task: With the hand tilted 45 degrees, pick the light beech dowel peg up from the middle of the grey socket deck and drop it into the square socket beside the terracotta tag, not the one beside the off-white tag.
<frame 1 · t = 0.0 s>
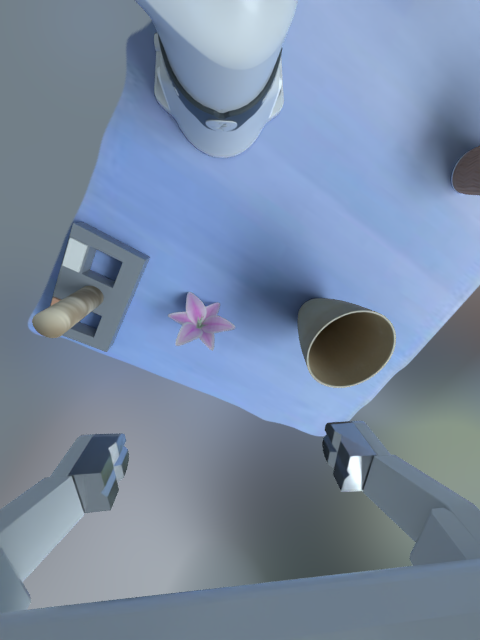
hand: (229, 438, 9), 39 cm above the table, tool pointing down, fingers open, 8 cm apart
lily: (202, 312, 49), on the table
plant pot: (314, 312, 51), on the table
socket deck: (99, 290, 45), on the table
peg: (92, 295, 42), point 3 cm above the table, touching socket deck
coffee cup: (468, 171, 41), on the table
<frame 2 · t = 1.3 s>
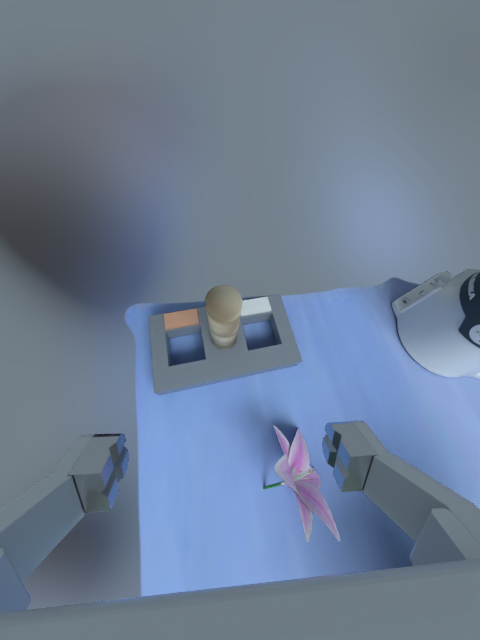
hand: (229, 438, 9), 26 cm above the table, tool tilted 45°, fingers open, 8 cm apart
lily: (289, 469, 31), on the table
socket deck: (223, 343, 38), on the table
peg: (223, 337, 35), point 3 cm above the table, touching socket deck
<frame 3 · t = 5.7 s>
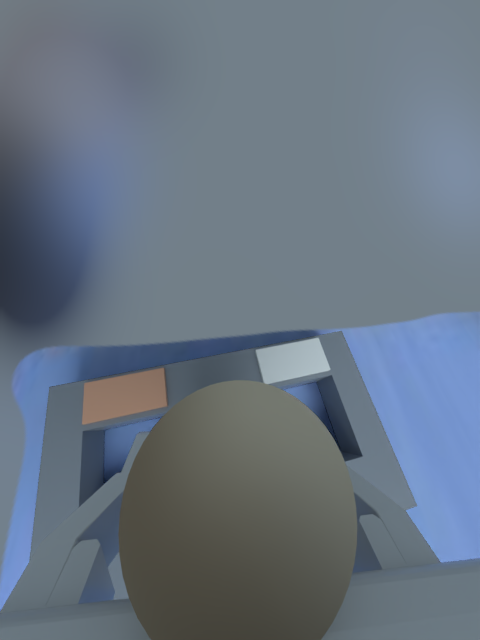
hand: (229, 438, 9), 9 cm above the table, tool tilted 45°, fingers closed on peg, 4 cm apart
socket deck: (225, 440, 17), on the table
peg: (226, 444, 15), point 3 cm above the table, touching gripper, socket deck
when the fingers open (8 cm above the table, at t = 11.3 s): peg drops 1 cm, resting in socket deck.
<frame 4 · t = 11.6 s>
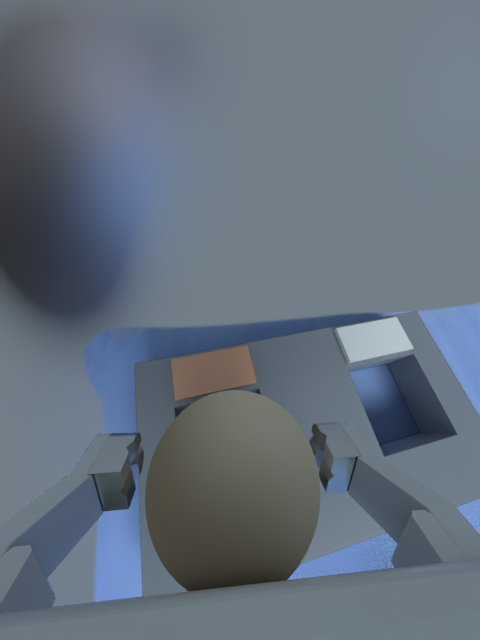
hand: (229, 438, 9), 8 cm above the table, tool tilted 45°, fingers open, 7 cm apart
socket deck: (303, 421, 17), on the table
peg: (225, 442, 16), resting in socket deck
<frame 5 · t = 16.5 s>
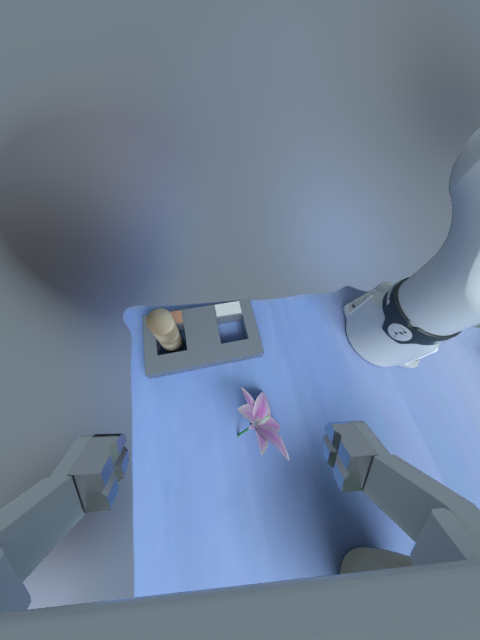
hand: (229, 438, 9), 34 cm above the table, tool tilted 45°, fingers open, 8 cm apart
lily: (257, 422, 41), on the table
plant pot: (364, 579, 33), on the table
socket deck: (203, 338, 47), on the table
peg: (173, 344, 46), resting in socket deck
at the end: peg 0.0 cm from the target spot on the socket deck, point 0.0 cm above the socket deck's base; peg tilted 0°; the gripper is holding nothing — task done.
